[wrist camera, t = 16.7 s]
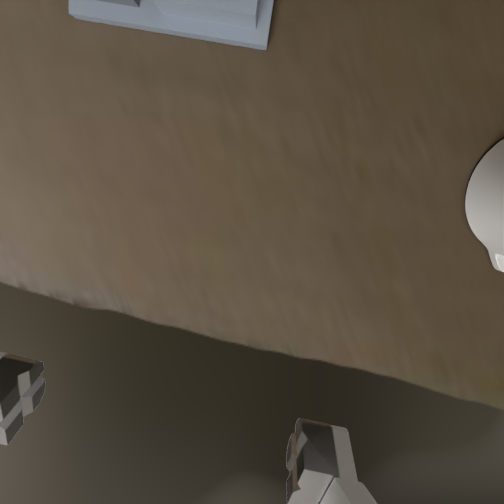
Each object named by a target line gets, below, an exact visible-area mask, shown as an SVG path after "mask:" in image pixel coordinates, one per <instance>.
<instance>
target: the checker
mask: <svg viewBox="0 0 504 504" xmlns="http://www.w3.org/2000/svg"><path fill="white" fill-rule="evenodd" d="M273 3H274V0H69V14H71V15H72V16H73V17H75V18H76V19H80V20H86V21H92V22H98V23H104V24H110V25H116V26H122V27H128V28H134V29H140V30H146V31H152V32H158V33H164V34H170V35H176V36H182V37H188V38H194V39H200V40H206V41H212V42H218V43H224V44H230V45H236V46H242V47H248V48H254V49H260V50H267V43H268V37H269V30H270V23H271V16H272V10H273Z"/></svg>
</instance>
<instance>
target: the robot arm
mask: <svg viewBox="0 0 504 504" xmlns="http://www.w3.org/2000/svg"><path fill="white" fill-rule="evenodd" d="M465 208H466V216H467V220H468V223H469V225H470V227H471V229H472V231H473V233H474V234H475V235H476V237H477V238H478V239H479V240H480V241H481V242H482V243H483V244H484V245H485V246H486V248H487V249H488V251H489V255H490V259H491V262H492V264H493V266H494V268H495V269H496V270H498V271H501V272H504V139H503V140H501V141H500V142H499V143H497V144H496V145H495V146H494V147H493V148H491V149H490V150H489V151H488V152H487V153H486V155H485V156H484V157H483V158H482V159H481V161H480V162H479V164H478V165H477V167H476V168H475V170H474V172H473V174H472V176H471V178H470V181H469V184H468V187H467V192H466V199H465ZM43 371H44V365H43V362H40V361H36V360H32V359H28V358H24V357H20V356H16V355H12V354H8V353H3V352H0V444H3V445H8V444H9V443H10V441H11V440H12V439H13V438H14V436H15V435H16V434H17V432H18V431H19V430H20V428H21V427H22V426H23V417H24V416H26V415H28V414H29V413H31V412H33V411H34V410H35V408H36V407H37V406H38V404H39V403H40V401H41V399H42V397H43V394H44V391H45V379H44V378H43V377H42V376H41V373H42V372H43ZM286 465H287V468H288V470H289V472H290V475H289V477H288V479H287V504H377V503H376V501H375V500H374V498H373V497H372V496H371V494H370V493H369V491H368V490H367V489H366V487H365V486H364V485H363V483H361V482H358V480H357V475H356V470H355V465H354V460H353V455H352V449H351V444H350V439H349V434H348V431H347V429H346V428H343V427H338V426H334V425H329V424H326V423H321V422H316V421H312V420H307V419H302V418H299V419H298V420H297V422H296V425H295V433H293V434H291V437H290V440H289V443H288V448H287V457H286Z"/></svg>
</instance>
